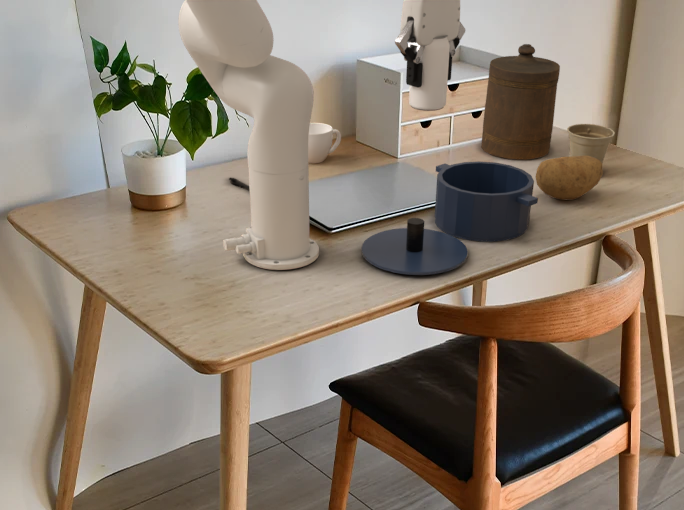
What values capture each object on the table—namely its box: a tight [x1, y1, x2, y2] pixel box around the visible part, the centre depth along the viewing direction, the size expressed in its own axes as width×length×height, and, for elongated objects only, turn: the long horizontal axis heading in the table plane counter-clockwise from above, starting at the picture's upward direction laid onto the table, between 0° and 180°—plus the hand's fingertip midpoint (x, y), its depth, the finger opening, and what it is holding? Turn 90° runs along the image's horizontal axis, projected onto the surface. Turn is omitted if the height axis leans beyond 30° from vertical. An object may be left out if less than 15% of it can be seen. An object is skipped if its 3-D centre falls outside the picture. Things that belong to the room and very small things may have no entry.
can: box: [408, 35, 450, 112], centre depth 157 cm, size 6×6×12 cm
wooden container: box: [480, 43, 561, 161], centre depth 195 cm, size 15×15×22 cm
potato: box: [535, 155, 604, 201], centre depth 175 cm, size 10×14×8 cm
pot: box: [434, 160, 539, 243], centre depth 164 cm, size 17×22×8 cm
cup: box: [308, 122, 342, 164], centre depth 192 cm, size 8×10×7 cm
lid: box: [361, 217, 468, 276], centre depth 152 cm, size 18×18×6 cm
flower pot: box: [566, 123, 616, 165], centre depth 187 cm, size 9×9×9 cm
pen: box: [228, 177, 250, 192], centre depth 178 cm, size 14×2×1 cm, turn 39°
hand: (428, 81), depth 158 cm, fingers closed on can, 6 cm apart
